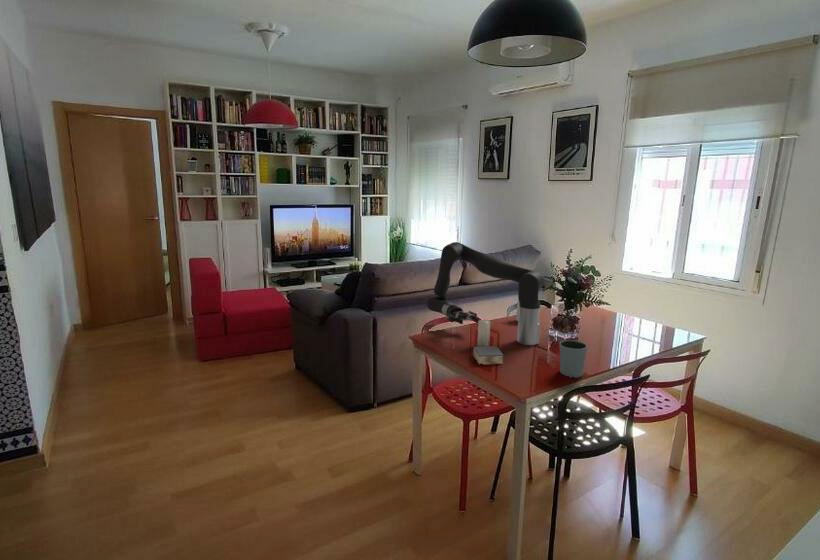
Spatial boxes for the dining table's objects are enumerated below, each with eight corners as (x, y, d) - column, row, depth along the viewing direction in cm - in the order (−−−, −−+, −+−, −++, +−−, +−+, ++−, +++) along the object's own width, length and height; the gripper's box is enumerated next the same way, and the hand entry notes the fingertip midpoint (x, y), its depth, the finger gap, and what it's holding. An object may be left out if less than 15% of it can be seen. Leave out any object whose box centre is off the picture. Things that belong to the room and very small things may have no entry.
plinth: (495, 354, 196) (496, 345, 195) (502, 363, 187) (503, 354, 186) (473, 355, 195) (473, 346, 194) (478, 364, 186) (479, 355, 185)
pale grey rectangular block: (487, 344, 208) (488, 319, 206) (490, 348, 203) (491, 322, 201) (476, 344, 208) (477, 319, 205) (479, 348, 203) (480, 323, 200)
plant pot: (588, 378, 173) (591, 349, 171) (561, 378, 173) (564, 348, 171) (579, 367, 183) (581, 339, 180) (554, 367, 183) (556, 339, 181)
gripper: (440, 305, 224) (457, 315, 210) (464, 303, 230) (483, 311, 216) (439, 320, 226) (456, 330, 211) (463, 317, 232) (482, 326, 218)
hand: (469, 321), depth 214 cm, fingers open, 8 cm apart
